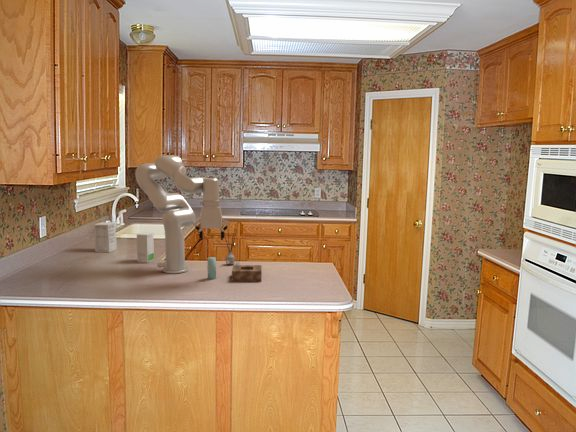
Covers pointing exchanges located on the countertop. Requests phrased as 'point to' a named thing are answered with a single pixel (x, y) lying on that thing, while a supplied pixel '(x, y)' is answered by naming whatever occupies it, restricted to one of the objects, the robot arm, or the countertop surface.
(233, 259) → the reed diffuser
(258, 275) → the socket block
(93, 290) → the countertop surface
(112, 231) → the supplement box
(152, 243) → the skincare box
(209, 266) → the peg
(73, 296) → the countertop surface
